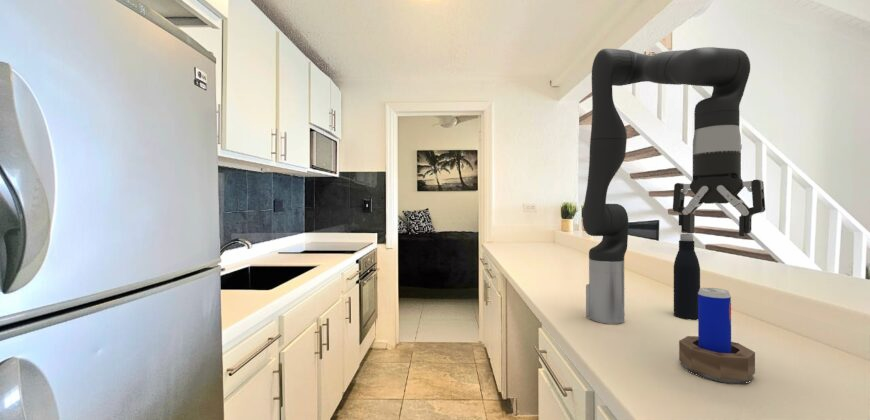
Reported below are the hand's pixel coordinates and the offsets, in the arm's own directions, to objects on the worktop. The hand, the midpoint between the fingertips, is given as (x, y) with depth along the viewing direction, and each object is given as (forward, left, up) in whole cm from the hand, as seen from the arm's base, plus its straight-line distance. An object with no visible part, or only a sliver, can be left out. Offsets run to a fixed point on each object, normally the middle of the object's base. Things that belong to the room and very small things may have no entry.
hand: (715, 234), depth 72 cm
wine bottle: (-17, +36, -27) cm, 48 cm away
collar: (0, 0, -27) cm, 27 cm away
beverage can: (0, 0, -26) cm, 26 cm away
